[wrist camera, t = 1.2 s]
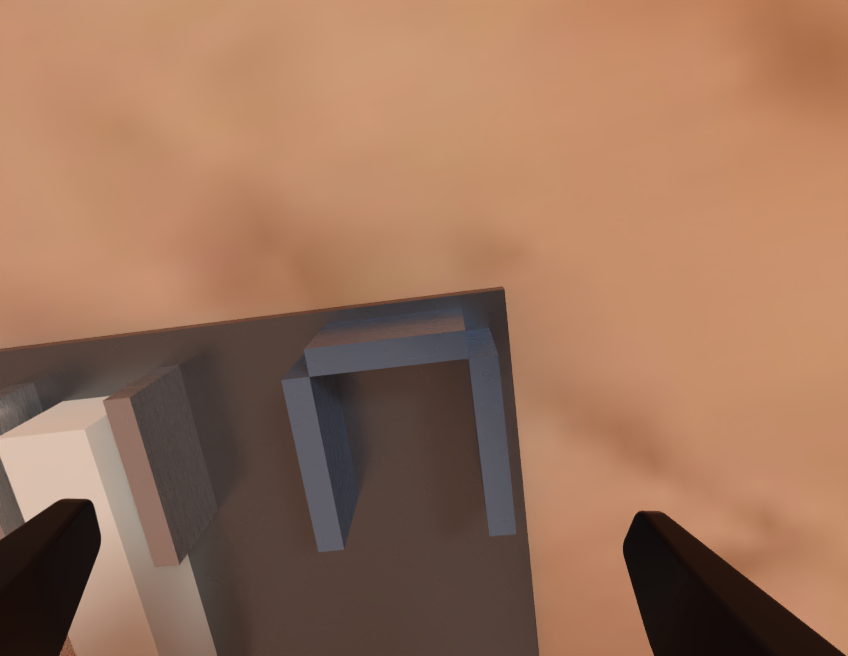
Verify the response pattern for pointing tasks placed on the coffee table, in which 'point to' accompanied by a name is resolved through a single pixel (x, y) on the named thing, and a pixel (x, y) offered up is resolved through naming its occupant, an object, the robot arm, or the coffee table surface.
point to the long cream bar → (106, 537)
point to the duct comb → (318, 471)
